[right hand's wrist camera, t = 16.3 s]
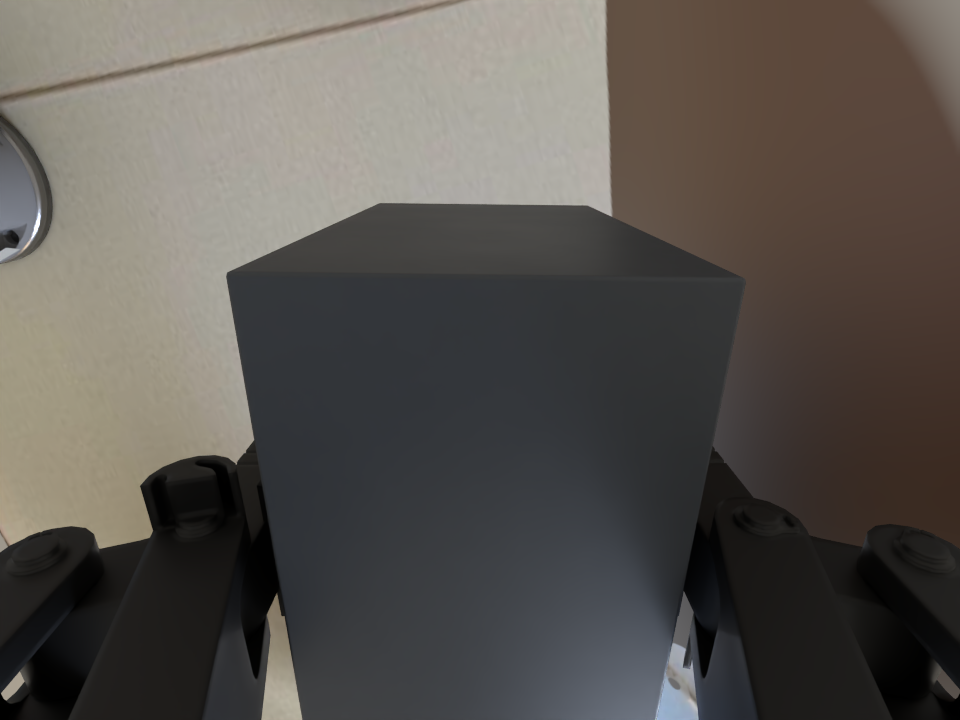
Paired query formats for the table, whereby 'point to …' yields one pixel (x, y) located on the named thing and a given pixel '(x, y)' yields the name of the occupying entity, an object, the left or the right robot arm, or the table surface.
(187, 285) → the table surface
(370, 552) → the post
